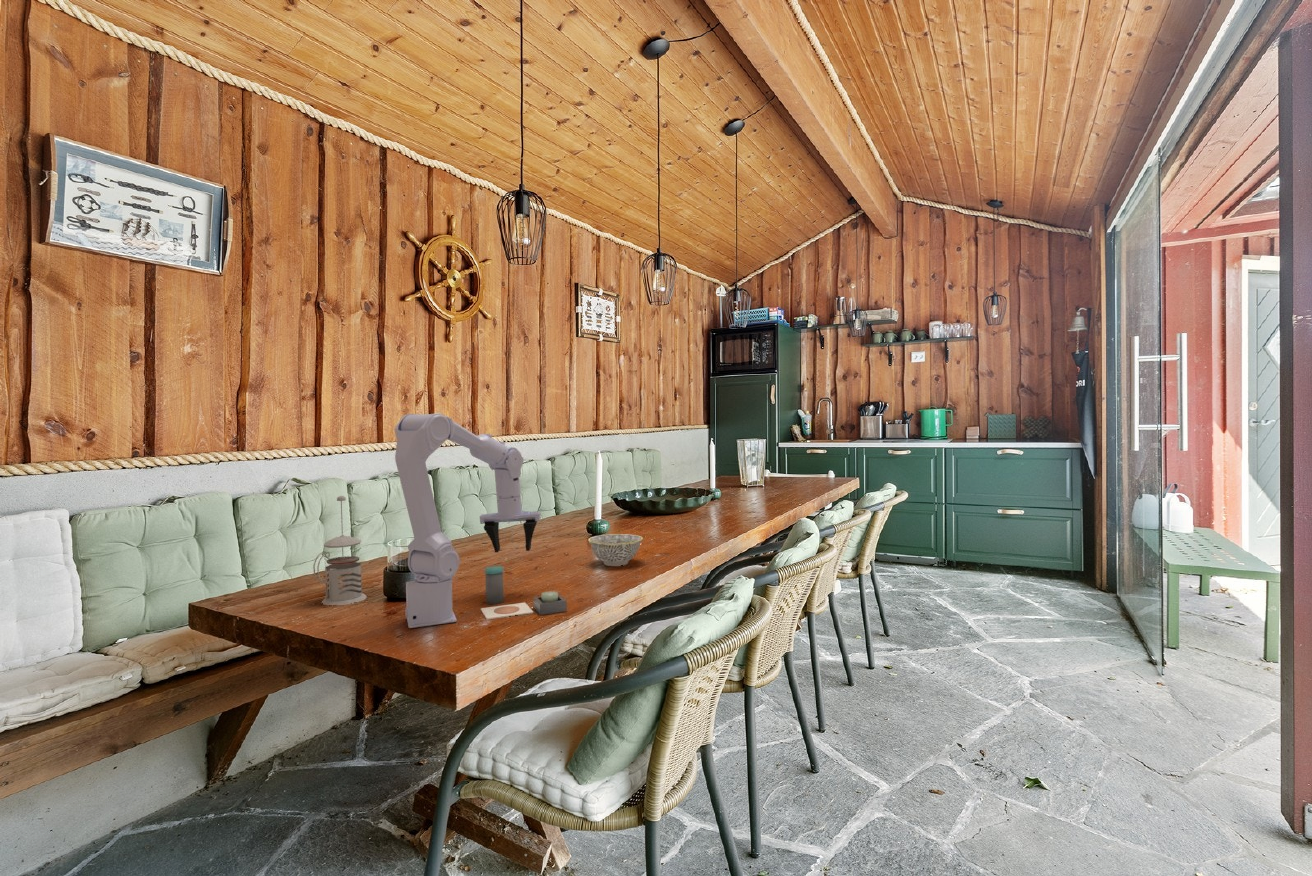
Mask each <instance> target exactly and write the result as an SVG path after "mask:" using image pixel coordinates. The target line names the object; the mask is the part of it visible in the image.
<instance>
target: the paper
mask: <svg viewBox="0 0 1312 876" xmlns="http://www.w3.org/2000/svg"><path fill="white" fill-rule="evenodd" d="M480 611H481V613H482V614H483V616H484V618H485V619H486V620H487V621H488V620H495V619H504V618H509V616H511V617H516V616H515V615H518V616H524V615H530V614H534V610H532V608H531V607H530V606H529V605H528V604H527V603H526V602H519V603H512V604H503V605H497V606H496V605H495V606H490V607H481V608H480Z"/></svg>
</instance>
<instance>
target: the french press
mask: <svg viewBox="0 0 1312 876" xmlns="http://www.w3.org/2000/svg"><path fill="white" fill-rule="evenodd" d="M346 500H347V498H346V497H345V496H344V495H338V496H337V497H336V501H337V502H340V517H341V524H343V501H344V502H345V501H346ZM343 529H344V528H343V525H341V535H340V536H336V537H333V538H331V539H329V540H327V541H326V542H325V543H323V546H324V548H326V549H327V548H328V549H334V548H336V549H337V548H342V549H341V551H342V556H336V557H332V558H330V555H331V553H330V552H329V551H322V552H320V553H318V555H317V556H316V558H315V560H314V562H313V567H312V568H313V574H314V576H315V579H317V581H319V582H321V583H324V584H325V597H324V599H323V600H322V601H321V604H322V603H323V604H322V605H324V606H329V605H332V606H333V605H337V607H338V606H345V605H351V603H352V604H355V603H354V602H357V603H360V602H362V601H365V600H366V599H367V595H366V594H364V592H363V589H362V585H363V584H362V582H363V581H362V563H361V562H358V561H360V557H359V556H355V555H352V556H351V555H350V556H349V555H347V556H344V548H348V547H353V546H357V545H360V544H361V542H362V540H361V539H359V538H357V537H353V536H350V535H343V534H344V533H343ZM323 553H324V554H323ZM327 554H328V555H327ZM320 555H321V556H320ZM319 557H320V558H319ZM323 557H325V558H327V560H326V564H328V565H326V566H325V568H324V571H325V573H324V574H325V580H324V579H323V578H322V577H321V576H320V571H319V570H320V569H319V568H320V567H319V566H320V564H321V563H320V562H321V561H322V559H323ZM318 558H319V559H318ZM328 558H329V559H328ZM317 560H318V563H317ZM316 563H317V568H315V567H316ZM316 569H317V570H316ZM316 571H317V573H316ZM317 575H318V576H317ZM341 587H342V588H341Z"/></svg>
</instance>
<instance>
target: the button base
mask: <svg viewBox="0 0 1312 876" xmlns="http://www.w3.org/2000/svg"><path fill="white" fill-rule="evenodd" d="M532 599H533V601H532V602H533V603H532V604H533V606H532V607H533V609H534V610H535V612H537V614H539V616H543V615H551V614H558V613H564V612H565V613H566V612H567V611H568V610H567V607H568V605H567V604H568V603H567V599H566V598H565V597H563V596H562V595H561V594H559V593H558V601H553V602H545V603H542V595H541V596H534V597H533V598H532Z"/></svg>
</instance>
